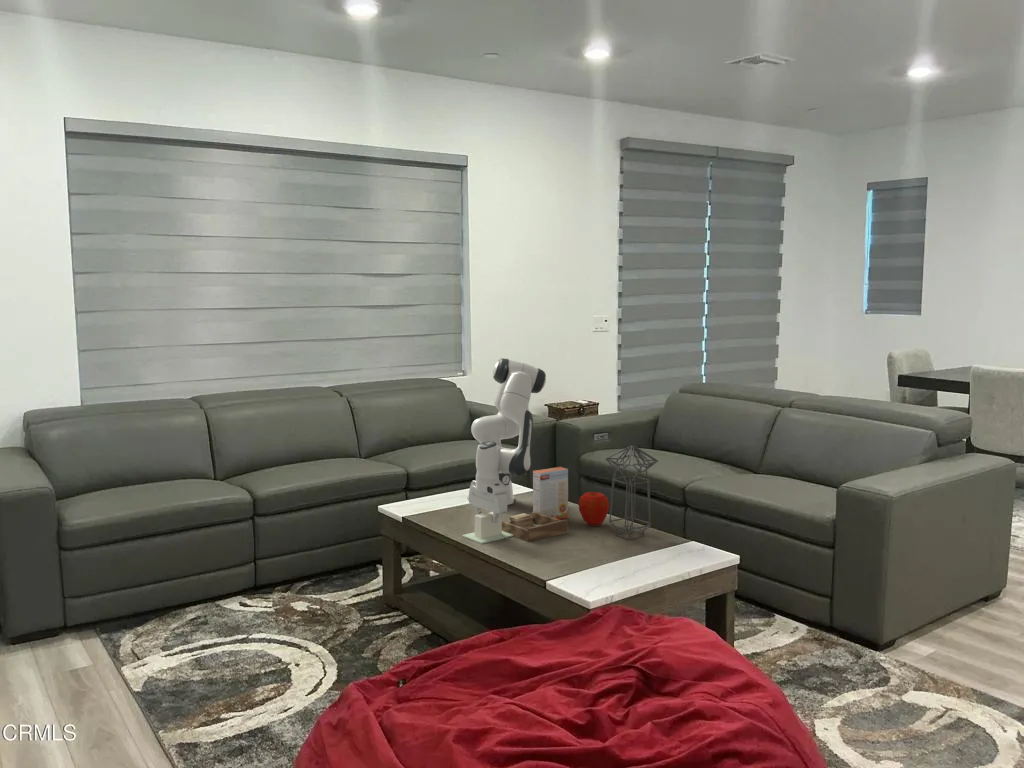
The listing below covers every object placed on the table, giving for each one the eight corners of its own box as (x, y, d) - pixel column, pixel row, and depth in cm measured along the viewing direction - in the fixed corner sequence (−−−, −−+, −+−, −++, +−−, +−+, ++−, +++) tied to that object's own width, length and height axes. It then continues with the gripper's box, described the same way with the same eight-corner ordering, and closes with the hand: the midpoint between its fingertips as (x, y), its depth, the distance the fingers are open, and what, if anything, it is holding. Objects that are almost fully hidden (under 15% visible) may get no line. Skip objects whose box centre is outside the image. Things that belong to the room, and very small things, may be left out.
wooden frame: (496, 529, 338) (496, 517, 337) (533, 521, 350) (533, 509, 349) (529, 541, 322) (529, 528, 322) (567, 532, 334) (567, 519, 334)
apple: (572, 524, 346) (572, 490, 344) (592, 519, 354) (592, 485, 352) (594, 531, 336) (595, 495, 335) (615, 525, 344) (615, 491, 343)
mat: (462, 536, 329) (462, 535, 329) (495, 529, 339) (495, 527, 339) (481, 544, 319) (481, 542, 319) (514, 536, 329) (514, 534, 329)
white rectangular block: (474, 535, 327) (474, 515, 326) (495, 531, 334) (495, 511, 333) (481, 538, 324) (481, 517, 323) (501, 533, 331) (501, 513, 330)
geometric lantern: (601, 533, 333) (602, 444, 329) (631, 527, 342) (633, 440, 338) (629, 544, 320) (631, 451, 316) (659, 536, 329) (661, 446, 325)
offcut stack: (508, 529, 339) (508, 517, 338) (526, 524, 346) (526, 512, 345) (515, 531, 336) (515, 519, 336) (533, 526, 343) (533, 514, 342)
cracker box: (560, 515, 359) (560, 466, 357) (568, 518, 354) (569, 468, 352) (532, 520, 352) (532, 469, 349) (540, 523, 347) (540, 472, 344)
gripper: (464, 480, 333) (464, 515, 335) (497, 491, 317) (496, 527, 319) (477, 478, 337) (477, 512, 339) (510, 488, 321) (510, 524, 323)
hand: (487, 520), depth 329 cm, fingers open, 8 cm apart
